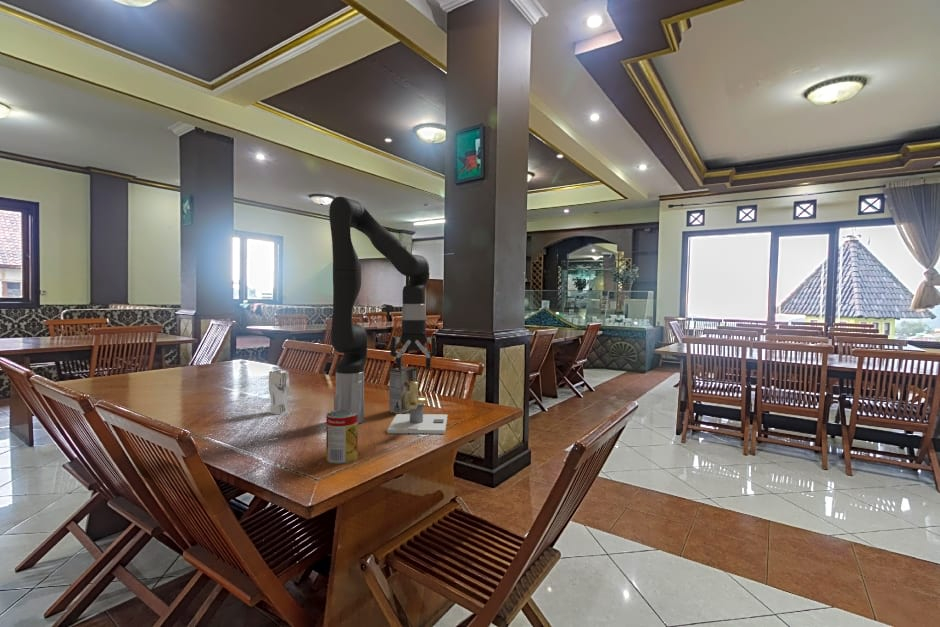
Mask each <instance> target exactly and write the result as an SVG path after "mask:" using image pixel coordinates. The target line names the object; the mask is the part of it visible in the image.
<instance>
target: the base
mask: <svg viewBox="0 0 940 627" xmlns="http://www.w3.org/2000/svg"><path fill="white" fill-rule="evenodd" d="M447 417H448V414H440V413H439V414H437V413H436V414H433V413H432V414H431V413H429V414H428V413H426V414H425V413H424V404H423V405H418V406H417V408H416V409H410V412H409V413H404V414H397V413H396V414H395V416H394V417H393V419H392V421H391V422H390V424H389V426H388V428H387V431H386V432H387V434H408V433H410V435H411V434H412V433H413V434H414V433H415V434H416V435H417V433H418V434H420V433H421V434H423V433H424V434H423V435H431V434H432V435H445V434H446V433H445V432H446V429H447V423H448V418H447ZM426 433H427V434H426ZM415 434H414V435H415Z"/></svg>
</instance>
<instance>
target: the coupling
mask: <svg viewBox="0 0 940 627" xmlns="http://www.w3.org/2000/svg"><path fill="white" fill-rule="evenodd" d="M406 404H409V405H410V409H416V408H417V406H418V405H423V406H424V405H426V404H428V397H426V396H424V395H419V381H417V382H416V381H412V382H410V394H409V397H407V398H406Z"/></svg>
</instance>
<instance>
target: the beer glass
mask: <svg viewBox="0 0 940 627" xmlns="http://www.w3.org/2000/svg"><path fill="white" fill-rule="evenodd" d="M289 390H290V371H289V370H287V369H278V370H271V371H269V372H268V392H269V396H270V397H269V398H270V403H271V404H270V411H269V414H271V415H284V414H287V413H288V412H289V409H288V408H289V407H288V396H289Z"/></svg>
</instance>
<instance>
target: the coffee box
mask: <svg viewBox="0 0 940 627" xmlns="http://www.w3.org/2000/svg"><path fill="white" fill-rule="evenodd" d="M388 375H389V377H388V378H389V381H388V382H389V383H388V384H389V392H388V393H389V394H388V396H389V400H388V402H389V403H388V404H389V413H392V412H395V413H394V414H397V413H400V414H402V413H404V414H406V413H405V412H407V413H410V412H409V411H410V405H409V404H406V398H407V397H409V394H410V382H412V381H416V382H418V367H414V366H402V369H401V370H399V368H397V367H396V368H391V369H389V372H388Z"/></svg>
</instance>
